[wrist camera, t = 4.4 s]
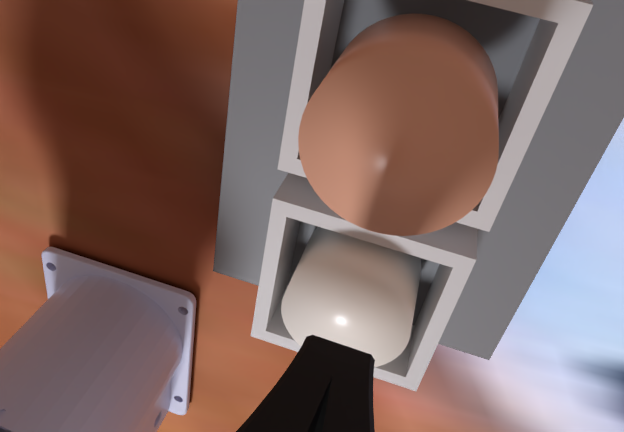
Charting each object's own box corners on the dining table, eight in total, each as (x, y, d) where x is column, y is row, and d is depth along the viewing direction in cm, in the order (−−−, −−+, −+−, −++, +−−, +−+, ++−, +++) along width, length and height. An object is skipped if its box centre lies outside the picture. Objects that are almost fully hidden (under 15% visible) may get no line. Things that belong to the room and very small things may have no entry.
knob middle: (464, 188, 15) (459, 257, 12) (318, 146, 15) (285, 205, 13) (525, 39, 12) (532, 87, 10) (350, -7, 13) (316, 30, 10)
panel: (489, 314, 23) (488, 415, 19) (236, 235, 24) (185, 314, 20) (849, -383, 11) (1050, -508, 7) (319, -466, 12) (235, -614, 8)
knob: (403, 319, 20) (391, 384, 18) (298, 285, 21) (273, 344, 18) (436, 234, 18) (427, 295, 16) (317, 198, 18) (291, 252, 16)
